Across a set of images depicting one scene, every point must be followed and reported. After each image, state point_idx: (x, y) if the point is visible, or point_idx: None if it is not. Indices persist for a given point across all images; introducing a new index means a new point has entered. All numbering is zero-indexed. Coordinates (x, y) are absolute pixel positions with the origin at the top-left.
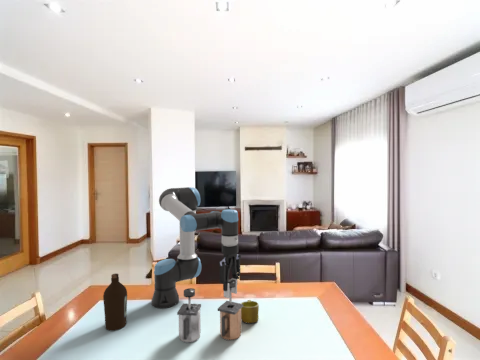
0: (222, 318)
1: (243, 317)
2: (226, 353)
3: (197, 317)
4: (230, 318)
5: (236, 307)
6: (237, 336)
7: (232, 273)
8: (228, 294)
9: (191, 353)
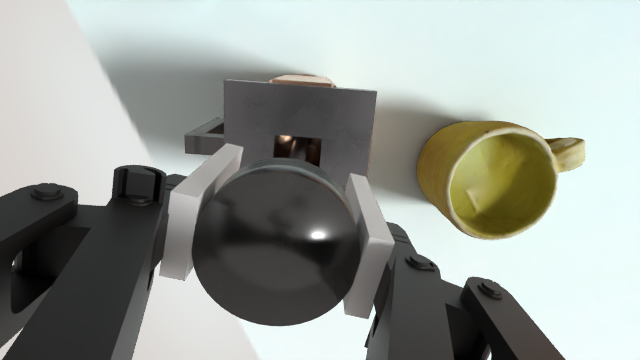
0: (185, 141)
1: (427, 153)
2: (168, 164)
3: None
4: None
5: None
6: None
7: (386, 309)
8: None
9: (88, 13)
